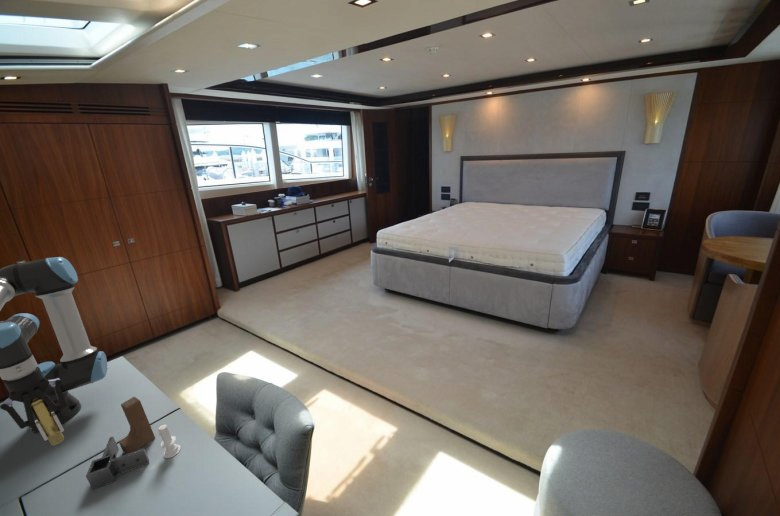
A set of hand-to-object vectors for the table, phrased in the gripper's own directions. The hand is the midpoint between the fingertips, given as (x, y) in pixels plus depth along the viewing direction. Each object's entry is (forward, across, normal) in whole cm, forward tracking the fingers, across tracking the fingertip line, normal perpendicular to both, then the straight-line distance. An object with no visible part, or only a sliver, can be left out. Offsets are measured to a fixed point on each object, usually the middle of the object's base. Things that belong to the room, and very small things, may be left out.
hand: (53, 433), depth 106 cm
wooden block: (+19, +17, -4) cm, 26 cm away
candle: (+19, +23, -18) cm, 35 cm away
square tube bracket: (+19, +12, -8) cm, 24 cm away
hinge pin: (+3, 0, 0) cm, 3 cm away
